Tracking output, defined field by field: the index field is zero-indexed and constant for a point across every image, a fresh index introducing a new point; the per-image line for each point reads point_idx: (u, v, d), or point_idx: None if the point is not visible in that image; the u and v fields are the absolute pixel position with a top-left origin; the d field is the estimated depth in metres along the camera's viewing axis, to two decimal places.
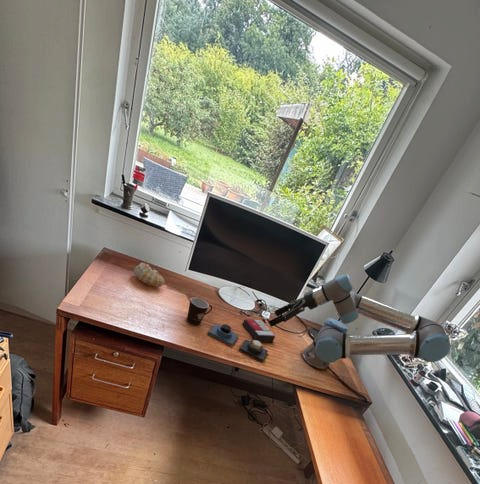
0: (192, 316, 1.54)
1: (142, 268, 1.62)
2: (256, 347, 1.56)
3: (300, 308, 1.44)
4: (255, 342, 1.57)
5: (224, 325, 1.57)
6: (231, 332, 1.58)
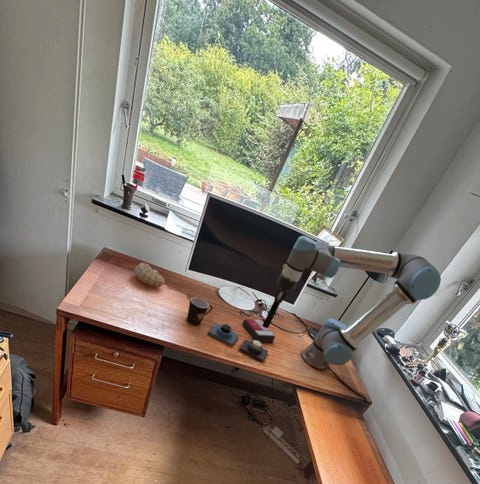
0: (192, 316, 1.54)
1: (142, 268, 1.62)
2: (256, 347, 1.56)
3: (276, 300, 1.37)
4: (255, 342, 1.57)
5: (224, 325, 1.57)
6: (231, 332, 1.58)
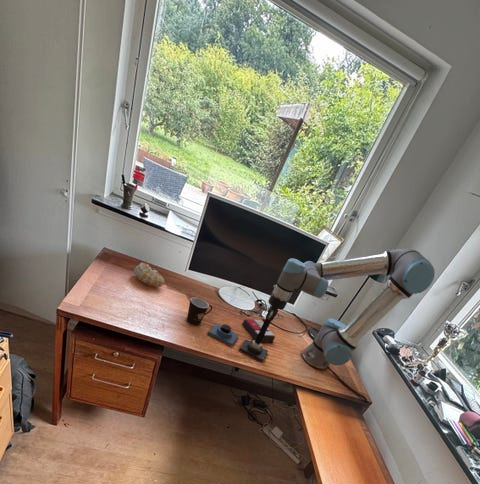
0: (192, 316, 1.54)
1: (142, 268, 1.62)
2: (256, 347, 1.56)
3: (267, 318, 1.43)
4: None
5: (224, 325, 1.57)
6: (231, 332, 1.58)
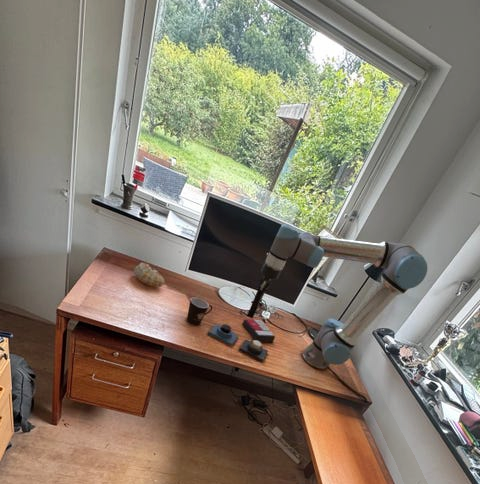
0: (192, 316, 1.54)
1: (142, 268, 1.62)
2: (256, 347, 1.56)
3: (260, 288, 1.37)
4: (255, 342, 1.57)
5: (224, 325, 1.57)
6: (231, 332, 1.58)
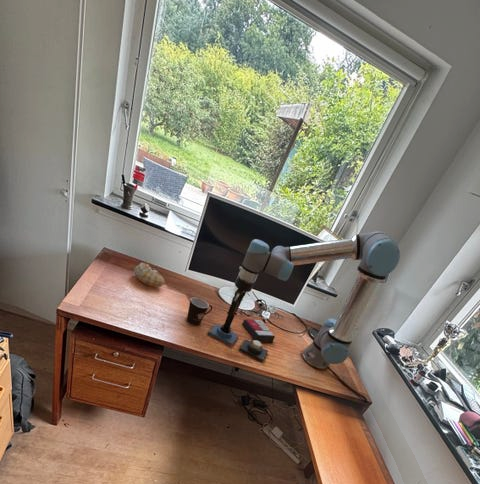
0: (192, 316, 1.54)
1: (142, 268, 1.62)
2: (256, 347, 1.56)
3: (234, 300, 1.43)
4: (255, 342, 1.57)
5: None
6: (231, 332, 1.58)
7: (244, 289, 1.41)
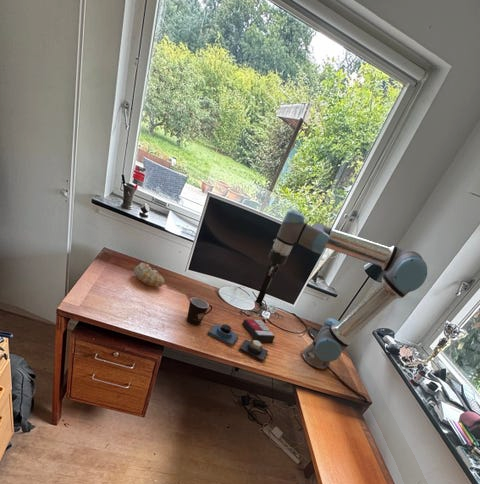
0: (192, 316, 1.54)
1: (142, 268, 1.62)
2: (256, 347, 1.56)
3: (268, 274, 1.41)
4: (255, 342, 1.57)
5: (224, 325, 1.57)
6: (231, 332, 1.58)
7: (279, 262, 1.40)
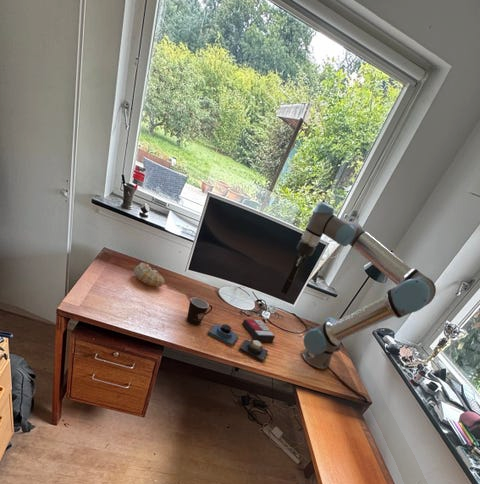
0: (192, 316, 1.54)
1: (142, 268, 1.62)
2: (256, 347, 1.56)
3: (296, 264, 1.46)
4: (255, 342, 1.57)
5: (224, 325, 1.57)
6: (231, 332, 1.58)
7: (307, 252, 1.45)
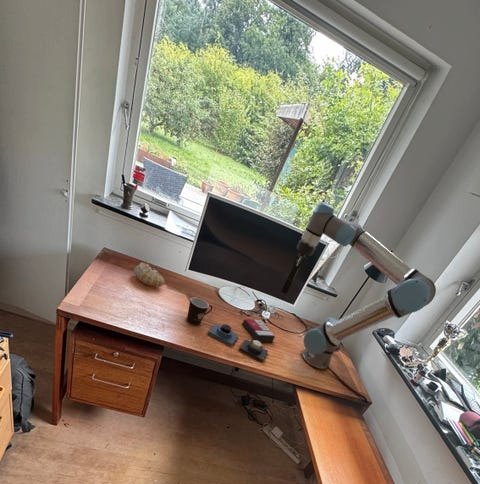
0: (192, 316, 1.54)
1: (142, 268, 1.62)
2: (256, 347, 1.56)
3: (296, 264, 1.46)
4: (255, 342, 1.57)
5: (224, 325, 1.57)
6: (231, 332, 1.58)
7: (307, 252, 1.45)
